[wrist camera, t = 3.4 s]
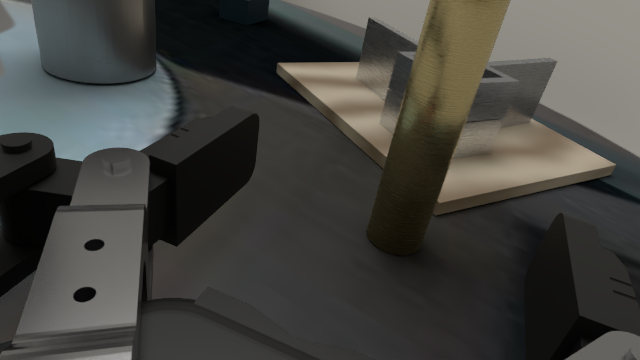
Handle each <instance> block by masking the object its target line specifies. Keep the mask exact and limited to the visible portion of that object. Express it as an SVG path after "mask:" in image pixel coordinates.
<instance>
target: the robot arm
mask: <svg viewBox="0 0 640 360" xmlns="http://www.w3.org/2000/svg"><path fill="white" fill-rule="evenodd" d="M31 2H32V8H33V14H34V21H35V27H36V33H37V38H38V44H39V50H40V56H41V62H42V67H43V68H44V69H45V70H46V71H47V72H49V73H50V74H52V75H55V76H57V77H60V78H63V79H67V80H71V81H78V82H85V83H108V84H109V83H123V82H129V81H134V80H138V79H142V78H145V77H147V76H149V75H151V74H152V73H153V72H154V71H155V70H156V38H155V0H31ZM258 132H259V117H258V115H257V114H256V113H252V112H249V111H246V110H243V109H240V108H237V107H234V106H231V107H229V108H227V109H225V110H224V111H222V112H220V113H219V114H217V115H215V116H214V117H207V118H203V119H198V120H194V121H192V122H190V123H188V124H187V125H185V126H183V127H181V130H180V129H178V130H176V131H174V132H173V133H171V135H167V136H165V137H164V138H162V139H160V140H158V141H157V142H155V143H153V144H151V145H149V146H148V147H146V148H144V149H142V150H141V151H137V150H134V149H129V148H108V149H103V150H99V151H96V152H94V153H92V154H90V155H88V156H87V157H86V158H85V159H84V160H83V162H82V161H75V160H69V159H62V158H55V152H54V146H53V142H52V140H51V139H49V138H48V137H46V136H43V135H40V134H35V133H11V134H5V135H1V136H0V297H1V296H2V295H4V294H5V293H6V292H8V291H9V290H10V289H12V288H13V287H14V286H15V285H17V284H18V283H19V282H21V281H22V280H23V279H25V278H26V277H27V276H29V275H30V274H31V273H33V272H34V271H35V270H37V271H36V274H35V277H34V280H33V283H32V286H31V289H30V292H29V295H28V298H27V301H26V304H25V307H24V310H23V313H22V317H21V320H20V323H19V326H18V329H17V332H16V335H15V338H14V340H12V341H9V342H5V343H2V344H0V360H375V359H373V358H371V357H368V356H366V355H364V354H361V353H359V352H357V351H355V350H350V349H345V348H340V347H335V346H330V345H325V344H320V343H315V342H310V341H305V340H301V339H298V338H296V337H294V336H292V335H291V334H289V333H288V332H287V331H285V330H284V329H283V328H281V327H280V326H279V325H277V324H276V323H275V322H273V321H272V320H271V319H269V318H268V317H267V316H265V315H264V314H263V313H261V312H260V311H259V310H257V309H256V308H255V307H253V306H251V305H249V304H247V303H244V302H242V301H240V300H237V299H235V298H233V297H230V296H228V295H226V294H224V293H221V292H219V291H217V290H214V289H212V288H210V287H207V289H206V290H205V291H204V292H203V293H202V294H201V295H200V296H199V298H198V299H197V300H193V299H183V298H163V299H154V300H152V281H153V244H154V243H156V242H157V241H158V240H159V239H160V240H162V241H165V242H167V243H169V244H172V245H174V246H176V247H177V246H178V245H179V244H180V243H181V242H182V241H184V240H185V239H186V238H187V237H188V236H189V235H190V234H191V233H192V232H193V231H195V230H196V229H197V228H198V227H199V226H200V225H201V224H202V223H203V222H205V221H206V220H207V219H208V218H209V217H210V216H211V215H212V214H213V213H214V212H216V211H217V210H218V209H219V208H220V207H221V206H222V205H223V204H224V203H225V202H227V201H228V200H229V199H230V198H231V197H232V196H233V195H234V194H235V193H237V192H238V191H239V190H240V189H241V188H242V187H243V186H244V185H245V184H246V183H247V182H248V181H249V179H250V178H251V176H252V174H253V171H254V168H255V162H256V152H257V142H258ZM631 285H632V284H631V281H630V278H629V275H628V272H627V269H626V267H625V266H624V265H623V264H622V263H621V261H620V260H619V259H618V258H617V257H616V255H615V254H614V253H613V252H612V251H610V250H607V249H604V248H602V247H601V244H600V240H599V236H598V232H597V229H596V226H595V224H594V223H591V222H588V221H585V220H581V219H578V218H575V217H572V216H569V215H566V214H563V213H560V214H558V215H557V216H556V217H555V219H554V220H553V222H552V224H551V226H550V228H549V230H548V231H547V233H546V235H545V237H544V239H543V241H542V242H541V244H540V246H539V248H538V250H537V252H536V253H535V255H534V257H533V259H532V261H531V263H530V265H529V268H528V270H527V274H526V277H525V283H524V303H525V360H640V309H639V305H638V302H637V301H635V299H636V296H635V293H634V290H633V288H632V287H631Z"/></svg>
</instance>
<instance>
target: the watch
mask: <svg viewBox="0 0 640 360" xmlns="http://www.w3.org/2000/svg"><path fill="white" fill-rule="evenodd" d="M268 7H269V0H220V10H219V18H223V19H226V20H230V21H233V22H236V23H240V24H243V25H250V24H253V23H257V22H260V21H264V20H267V18H268Z"/></svg>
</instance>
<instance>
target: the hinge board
mask: <svg viewBox="0 0 640 360" xmlns="http://www.w3.org/2000/svg"><path fill="white" fill-rule="evenodd" d="M358 66H359V62H331V63H277V72H276V73H277V74H279V75H280V76H281V77H282V78H283V79H284V80H285V81H286V82H287V83H289V84H290V85H291V86H292V87H293V88H294V89H295V90H296V91H297V92H299V93H300V94H301V95H302V96H303V97H304V98H305V99H306V100H307V101H309V102H310V103H311V104H312V105H313V106H314V107H315V108H316V109H317V110H318V111H320V112H321V113H322V114H323V115H324V116H325V117H326V118H327V119H328V120H330V121H331V122H332V123H333V124H334V125H335V126H336V127H337V128H338V129H340V130H341V131H342V132H343V133H344V134H345V135H346V136H347V137H348V138H350V139H351V140H352V141H353V142H354V143H355V144H356V145H357V146H358V147H360V148H361V149H362V150H363V151H364V152H365V153H366V154H367V155H368V156H369V157H371V158H372V159H373V160H374V161H375V162H376V163H377V164H378V165H379V166H381V167H382V168H383V169H384V166H385V162H386V159H387V155H388V151H389V148H390V144H391V140H392V137H393V134H392V133H391V132H389V131H388V130H387V129H385V128H384V127H383V126H382V125H380V124H379V122H380V118H381V115H382V111H383V107H384V103H385V101H383V100H382V99H381V98H380V97H379V96H377V95H376V94H375V93H374V92H372V91H371V90H370V89H369V88H368V87H366V86H365V85H364V84H363V83H362V82H360V81H359V80H358V79H357V78H356V76H357V71H358ZM615 166H616V165H615V164H614V163H612V162H610V161H608V160H606V159H604V158H603V157H601V156H599V155H597V154H595V153H593V152H592V151H590V150H588V149H586V148H584V147H582V146H581V145H579V144H577V143H575V142H573V141H571V140H570V139H568V138H566V137H564V136H562V135H560V134H559V133H557V132H555V131H553V130H551V129H549V128H548V127H546V126H544V125H542V124H540V123H538V122H537V121H535V120H533V119H531V121H530V122H529V123H524V124H519V125H514V126H509V127H504V128H500V131H499V133H498V135H497V138H496V140H495V143H494V145H493V148H492V150H491V152H490V154H484V155H477V156H471V157H464V158H458V159H452V162H451V164H450V167H449V170H448V173H447V175H446V178H445V181H444V184H443V186H442V189H441V192H440V195H439V197H438V200H437V203H436V205H435V208H434V211H433V214H434V215H435V216H436V215H440V214H444V213H448V212H453V211H457V210H461V209H466V208H470V207H474V206H479V205H483V204H487V203H492V202H496V201H500V200H505V199H509V198H513V197H518V196H522V195H526V194H531V193H535V192H539V191H544V190H548V189H552V188H556V187H561V186H565V185H569V184H574V183H578V182H582V181H587V180H591V179H595V178H600V177H604V176H608V175H611V173H612V171H613V170H614V168H615Z"/></svg>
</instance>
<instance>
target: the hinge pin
mask: <svg viewBox="0 0 640 360" xmlns="http://www.w3.org/2000/svg"><path fill="white" fill-rule="evenodd" d="M509 3H510V0H430V3H429V6H428V10H427V14H426V17H425V21H424V24H423V28H422V32H421V35H420V39H419V43H418V46H417V50H416V53H415V57H414V61H413V64H412V68H411V72H410V75H409V79H408V82H407V86H406V90H405V93H404V97H403V101H402V104H401V108H400V111H399V115H398V119H397V122H396V126H395V130H394V133H393V137H392V140H391V144H390V148H389V151H388V155H387V159H386V162H385V166H384V169H383V173H382V177H381V180H380V184H379V188H378V191H377V195H376V198H375V202H374V206H373V209H372V213H371V217H370V220H369V224H368V227H367V236H368V238H369V240H370V241H371V242H372V244H373V245H375V246H376V247H377V248H379V249H380V250H382V251H384V252H387V253H389V254H393V255H400V256H406V255H411V254H414V253H416V252H417V251H418V250H419V249H420V247H421V244H422V241H423V238H424V236H425V233H426V230H427V227H428V225H429V222H430V219H431V216H432V214H433V211H434V208H435V205H436V203H437V200H438V197H439V195H440V192H441V189H442V186H443V184H444V181H445V178H446V175H447V173H448V170H449V167H450V164H451V162H452V159H453V156H454V153H455V151H456V148H457V145H458V142H459V140H460V137H461V134H462V132H463V129H464V126H465V123H466V121H467V118H468V115H469V112H470V110H471V107H472V104H473V101H474V99H475V96H476V93H477V90H478V88H479V85H480V82H481V79H482V77H483V74H484V71H485V69H486V66H487V63H488V60H489V58H490V55H491V52H492V49H493V47H494V44H495V41H496V38H497V36H498V33H499V30H500V27H501V25H502V22H503V19H504V16H505V14H506V11H507V8H508V6H509Z"/></svg>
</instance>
